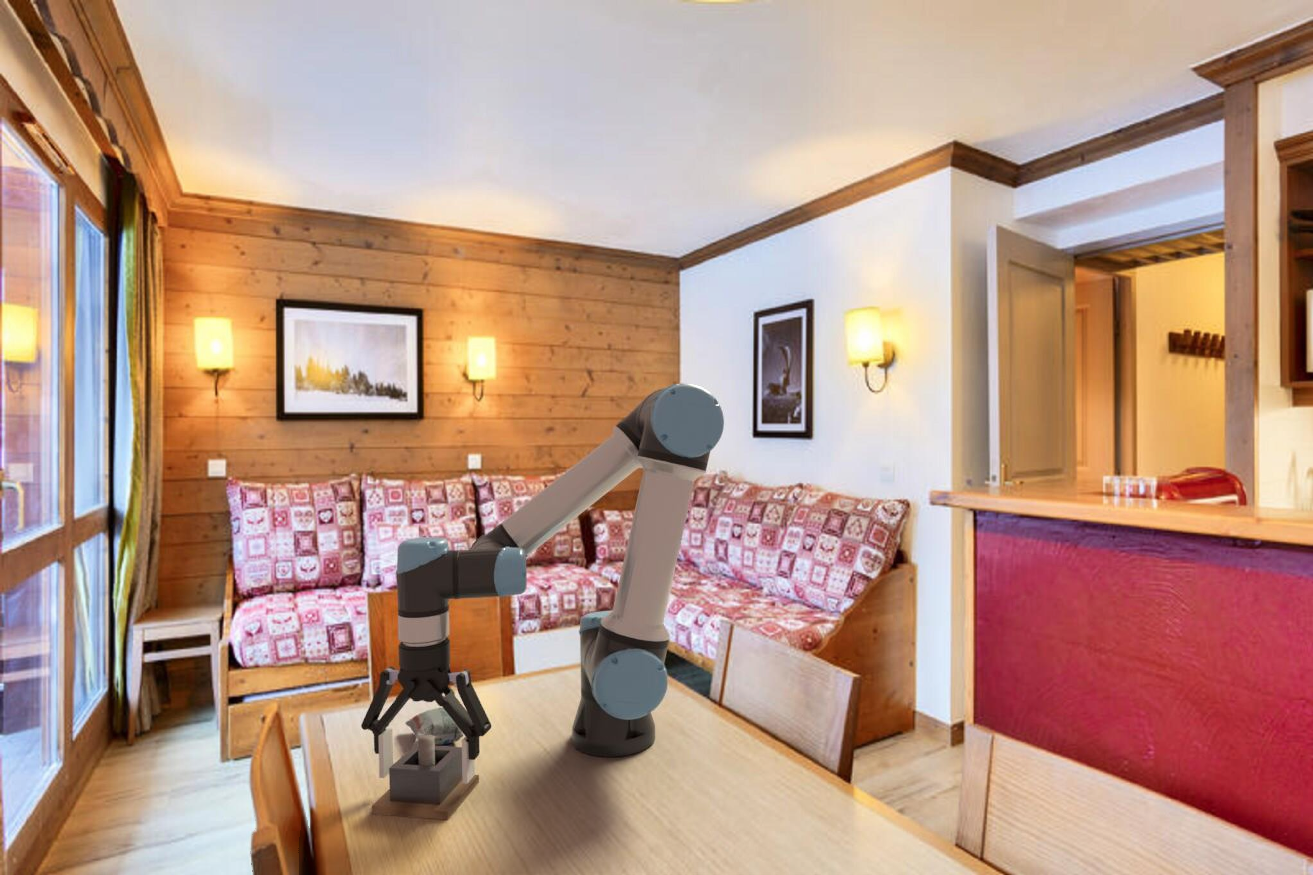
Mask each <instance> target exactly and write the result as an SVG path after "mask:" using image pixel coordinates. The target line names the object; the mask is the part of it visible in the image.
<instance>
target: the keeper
mask: <svg viewBox="0 0 1313 875" xmlns="http://www.w3.org/2000/svg"><path fill="white" fill-rule="evenodd" d="M435 746H436V745H435V739H434V736H433V735H424V736H421V737H419V738H418V759H419V765H422V766H435ZM479 783H480V777H479V774H475V775H474V776H473V778H472V779H471V780H470V781H469V782H468V783H467V784H463V783H462V781H461V782H460V783H459V784H458V785H457V786H456V787H455V789H454V790H453V791H452V792H451V793H450V794H449V795H448V796H447V798H446V799H445V800H444V801H443V802H442V803H441V804H440V805H433V804H419V803H406V802H393V801H390V788H388V790H387V791H386V792H384V793H383V795H381V797H379V798H378V799H377V800H376V801H375V802H374V803H372V805H371V815H383V816H396V817H407V818H408V817H409V818H420V819H421V818H422V819H423V818H424V819H434V820H449V819H450V818H451V816H453V814H454V813H455V812H456V810H457V809H458V808H459V807H460V806H461V804H463V802H464V801H465V800H466V799H467V797H468V796H469V795H470V794H471V793H472V791H473V790H474V789H475V787H477V785H478V784H479Z"/></svg>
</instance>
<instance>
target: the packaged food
mask: <svg viewBox="0 0 1313 875" xmlns="http://www.w3.org/2000/svg"><path fill="white" fill-rule="evenodd" d="M405 725H406V726H407V727H409V728H410V729H411V732H413V734H414V735H415V736H414V738H415V741H414V742H413V747H414V746H415V745H418V738H419V737H421V736H424V735H433V736H434V739H435V746H443V745H448V744H452V743H456V742H458V741H459V740H460V739H461V738H462V737H464V734H463V732H462V731H461V730H460V729H459V727H458V726H457V725H456V723H455V722H454V721H453V720H452V718H451V717H450V716H449V715H448V713H447V712H446V711H445V709H444V708H443V707H437V708H436V707H435V708H433V709H427V710H426V711H423V712H420V713H418V714H415V716H412V718H410V719H408V720H407V721H405Z"/></svg>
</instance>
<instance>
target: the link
mask: <svg viewBox="0 0 1313 875" xmlns="http://www.w3.org/2000/svg"><path fill="white" fill-rule="evenodd" d="M388 775H389V777H388V778H389V789H390V801H393V802H406V803H419V804H433V805H440V804H441V803H442V802H443V801H444V800H445V799H446V798H447V796H448V795H449V794H450V793H451V792H452V791H453V790H454V789H455V787H456V786H457V785H458V784H459V783H460V782H461V781H462V746H447V745H435V766H422V765H419V759H418V745H415V746H414V745H413V746H412V748H410V749H409V750H408V751H407V752H406V753H405V754H404V755H402V756H401V757H399V759H398V760H397V761H395V762H393V765H392V766H391V767H390V768H389V774H388Z"/></svg>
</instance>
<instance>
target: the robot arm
mask: <svg viewBox="0 0 1313 875" xmlns="http://www.w3.org/2000/svg"><path fill="white" fill-rule="evenodd" d="M724 418H725V416H724V414H723V409H722V407H721V405H720V403H719V401H718V400H717V398H716V397H715V396H714V395H713V394H712V393H711V392H710V391H708V390H707V389H705V388H703V387H702V386H699V385H695V384H688V383H675V384H671V385H668V386H667V387H665V388H661V389H660V388H659V389H657V390H655V391H653V392H651V393H650V394H648V395H647V396H646V397H645V398H644V399H643V400H642V401H641V402H640V403H639V404H638V405H637V406H636V407H635V408H634V409H633V410H632V411H630V413H629V414H627V416H625V417H624V418H623V419H622V420H621V421H619V423H617V424H616V425H614V426H613V429H612V433H611V436H610V437H608V438H607V439H605V441H603V442H602V443H601V444H600V445H598V446H597V447H596V448H595V449H593V450H592V451H590V452H589V453H588V454H586V456H584V457H583V458H582V459H580V460H579V461H578V462H577V463H576V464H574V465H573V466H572V467H571V468H569V469H568V470H567V471H565V472H564V473H563V474H561V475H560V476H559V477H557V478H556V479H555V480H554V481H552V482H551V483H549V485H547V486H546V487H545V488H543V489H542V490H541V491H540V492H538V493H537V494H536V495H534V496H533V497H532V498H530V500H528V501H527V502H526V503H524V504H523V505H522V506H521V507H519V508H518V509H517V510H516V511H515V512H513V513H512V514H510V515H509V516H507V518H506V519H504V520H502V521H501V523H500V524H499V525H497V526H496V527H494V528H493V529H492V530H490V531H489V532H488V533H486V534H483V535H481V536H479V538H477V539H476V540H475V541H474V542H472V544H471V546H470V548H469V549H462V550H461V549H460V550H459V549H457V550H456V549H455V550H454V549H450V547H449V544H448V540H447V539H445V538H444V537H440V536H439V537H437V536H435V537H434V536H433V537H431V536H426V537H425V536H424V537H423V536H422V537H415V538H410V539H406V540H403V541H402V542H401V543H400V544H399V545H398V547H397V557H396V558H397V560H396V572H395V573H396V588H397V589H396V591H397V592H396V593H397V636H398V637H397V639H398V640H399V641H400V642H399V644H398V666H399V670H398V669H396V668H395V667H394V666H389V667H387V668H385V669H384V670H383V671H381V672H380V673H379V683H378V687H377V689H376V691H375V693H374V696H373V698H372V700H371V702H370V705H369V707H368V709H367V711H366V714H365V716H364V717H363V720H362V723H361V725H360V726H361V728H362V730H364V731H366V730H368V731H370V732H372V734H373V746H374V747H373V748H374V749H373V752H374V754H376V755H378V773H379V774H378V778H379V779H385V778H386V777H387V776H388V775H389V768H390V767H391V766H392V765H393V764H394V750H393V748H394V746H393V744H394V743H393V738H394V737H393V728H388V727H389V726H390V724H391V722H392V721H393V720H394V719H395V717H396V716H397V715H398V713H399V712H401V710H402V709H403V707H404V706H405V704H407V702H408V701H409V700H410V699H411V700H412V702H425V703H433V702H436V705H438V706H439V707H441V708H444V709H445V711H446V712H447V713H448V715H449V716H450V717H451V718H452V720H453V721H454V722H455V723H456V725H457V726H458V727H459V729H460V730H461V731H462V732H463V736H465V737H464V738H463V739H461V747H462V783H463V784H467V783H468V782H469V781H470V780H471V779H472V778H473V776H474V775H476V772H475V769H476V768H475V760H476V759H477V758H478V757H479V755H480V749H481V748H480V737H484V736H485V735H486V734H487V733H488V732H489V730H491V728H492V724H491V721H490V719H489V718H488V715H487V713H486V712H485V709H484V707H483V705H482V702H481V701H480V699H479V697H478V694H477V692H476V690H475V688H474V686H473V684H472V678H471V671H470V670H469V669H467V668H465V669H463V670H462V671H460V672H459V671H458V672H452V670H451V667H450V663H451V647H450V646H451V644H450V642H451V640H450V639H449V637H448V636H449V635H450V603H449V602H450V600H461V599H479V598H480V599H481V598H495V597H496V598H500V597H501V598H506V597H510V596H517V595H522V594H524V593H525V591H526V590H527V580H528V579H527V578H528V577H527V557H529V556H530V555H531V554H532V553H533V552H535V551H536V550H537V549H539V547H541V546H542V545H543V544H544V543H546V542H547V541H548V540H550V539H551V538H552V537H553V536H555V535H556V534H557V533H559V532H560V531H561V530H562V529H563V528H565V527H566V526H567V525H569V524H570V523H571V522H573V520H575V519H576V518H577V517H579V516H580V515H581V514H582V513H584V512H585V511H586V510H587V509H588V508H590V507H591V506H592V505H594V504H595V503H596V502H598V501H599V500H600V499H601V498H602V497H603V496H605V495H606V494H607V493H608V492H610V491H611V490H612V489H614V488H615V487H616V486H617V485H619V484H620V483H621V482H622V481H624V480H625V479H626V478H627V477H628V476H631V474H633V473H634V472H635V471H636V470H637V469H643V473H642V476H641V480H640V485H639V491H638V494H637V499H636V504H635V509H634V512H633V517H632V521H631V522H632V523H631V526H630V532H629V535H628V539H627V543H626V549H625V553H624V558H623V561H622V567H621V572H620V576H619V581H618V583H617V584H618V585H617V589H616V593H615V599H614V603H613V607H612V610H603V611H595V612H590V613H587V614H584V615H583V616H582V617H581V618H580V622H579V630H578V634H579V639H580V640H579V644H580V647H579V648H580V649H579V650H580V652H579V653H580V654H579V655H580V700H579V704H578V707H577V710H576V715H575V718H574V721H573V724H572V726H571V727H572V728H571V741H572V745H573V746H574V748H576V749H577V750H579V751H580V752H582V753H585V754H588V755H591V756H596V757H607V758H611V757H613V758H614V757H622V756H623V757H624V756H629V755H634V754H637V753H639V752H642V751H645V750H646V749H648V748H649V747H651V746H652V745H653V743H654V742H655V741H656V723H655V720H654V718H653V714H652V712H653V711H655V710H656V709H657V708H658V707H659V706H660V704H661V703H662V702H663V700H664V698H665V696H666V693H667V691H668V684H669V683H668V681H669V679H668V678H669V677H668V670H667V668H666V665H665V663H666V662H665V661H666V658H667V651H668V647H669V643H670V638H671V635H670V633H669V631H668V629H667V628H666V625H665V617H666V613H667V608H668V603H669V600H670V595H671V591H672V585H673V580H674V576H675V572H676V571H675V570H676V566H677V562H678V558H679V554H680V548H681V544H682V539H683V535H684V530H685V527H686V526H685V525H686V523H687V517H688V513H689V512H688V511H689V508H690V502H691V498H692V494H693V489H694V484H695V481H696V480H697V479H698V478H701V477H702V476H703V475H704V474H706V472H707V468H708V463H709V459H710V454H711V451H712V450H713V449H715V447H716V445H717V444H718V443H719V441H721V440H720V439H721V438H722V435H723V432H724V429H725V428H724V425H725V420H724ZM397 681H398V683H399V685H401V687H402V688H403V689H402V690H400V692H399V693H398V695H397V696H396V697H395V700H394V701H393V703H392V704H391V705H390V706H389V707H388V709H387V710H386V711H385V712H384V713H383V714H382V716H380V715H381V713H382V711H383V709H384V706H385V704H386V702H387V699H388V697H389V695H390V693H391V691H392V688H393V685H394V684H395V683H396V682H397ZM451 682H452V684H453V687H454V688H456V689H457V693H458V695H459V698H460V699H461V700H459V699H458V698H457V697H456V692H455V691H454V690H453V689H452V687H451V686H450V683H451ZM443 694H444V695H443ZM461 701H462V703H461ZM379 717H380V718H379Z"/></svg>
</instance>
